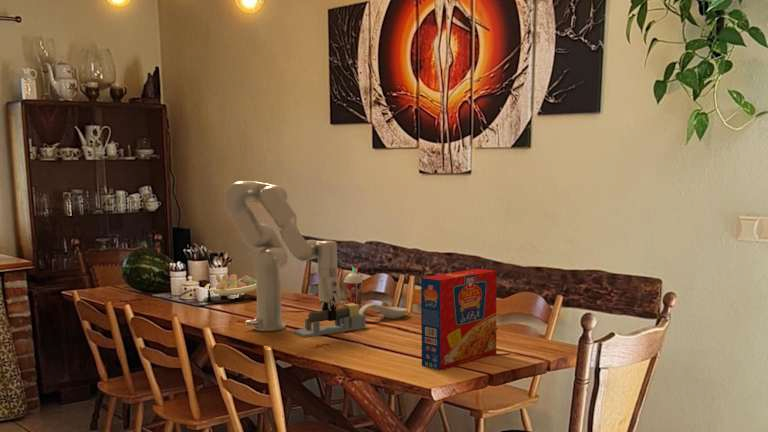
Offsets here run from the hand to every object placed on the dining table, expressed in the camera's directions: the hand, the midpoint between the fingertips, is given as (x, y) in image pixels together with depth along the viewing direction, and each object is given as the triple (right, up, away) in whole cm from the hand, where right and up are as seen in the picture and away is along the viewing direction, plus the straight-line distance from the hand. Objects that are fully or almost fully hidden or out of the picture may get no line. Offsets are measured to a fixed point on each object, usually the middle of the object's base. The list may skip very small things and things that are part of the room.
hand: (329, 319), depth 264 cm
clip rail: (0, -4, 0) cm, 5 cm away
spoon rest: (+21, -4, +22) cm, 30 cm away
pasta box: (+46, -7, -43) cm, 63 cm away
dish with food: (-54, -1, +72) cm, 90 cm away
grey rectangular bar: (+2, 0, +1) cm, 2 cm away
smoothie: (+8, -3, +37) cm, 38 cm away
